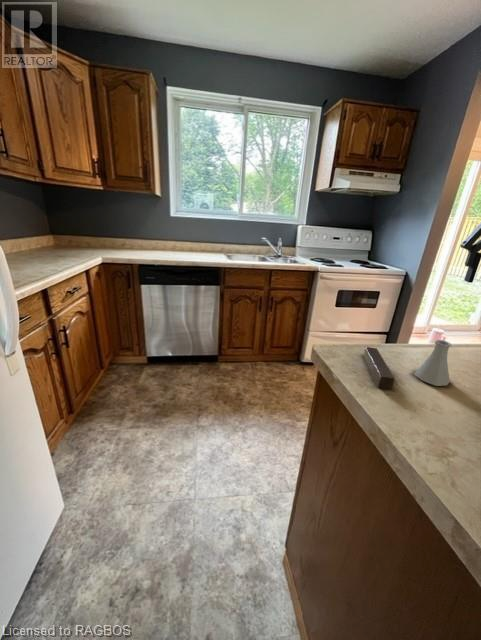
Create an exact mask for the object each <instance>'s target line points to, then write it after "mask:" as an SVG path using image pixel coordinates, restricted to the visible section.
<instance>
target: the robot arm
mask: <svg viewBox="0 0 481 640" xmlns="http://www.w3.org/2000/svg"><path fill="white" fill-rule="evenodd" d="M480 238H481V222H480V223H479V224H477V226H476V227H475V228H474V229H473V230H472V232H470V234H469V235H468V236H467V237H466V238H465V239H464V240H463V241H462V242H461V243H460V245H459V246H460V248H461V249H464V250H467V256H466V259H465V262H464V266H465V267H467V270H466V273H465V276H464V279H463V281H465V282H467V283H473V282H474V280H475V277H476V274H477V271H478V268H479V265H480V263H481V239H480Z"/></svg>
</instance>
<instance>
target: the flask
mask: <svg viewBox="0 0 481 640" xmlns="http://www.w3.org/2000/svg"><path fill="white" fill-rule="evenodd" d="M434 344H435V345H434V349H433V350H432V352H431V353H430V355H429V356H428V358H427V359H426V360H425V361H424V362H423V363H422V365H421V366H420V367H419V368H418V369H417V370H416V371H415V372H414V375H415V376H416V377H417V378H418V379H420V381H423V382H425V383H427V384H430V385H432V386H434V387H435V386H436V387H442V386H443V387H444V386H445V387H447V386H448V385H449V383H450V382H451V380H450V373H449V366H448V352H449V349H450V348H451V346H452V345H453V343H450V342H449V341H446V340H442V339H436V340H434Z"/></svg>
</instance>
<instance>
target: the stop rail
mask: <svg viewBox="0 0 481 640" xmlns="http://www.w3.org/2000/svg"><path fill="white" fill-rule="evenodd" d="M363 358H364V361H365V363H366V365H367V367H368V369H369V371H370V374H371V375H372V377H373V380H374V382H375V385H376V386H377V388H380V389H385V390H386V389H387V390H393V386H394V383H395V380H396V378H395V376H394V374H393V373H392V372H391V370H390V368H389V366H388V365H387V362H385V360H384V358H383V356H382V354H381V353H380V351H379V350H378V348H377V347H368V346H365V348H364V352H363Z"/></svg>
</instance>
